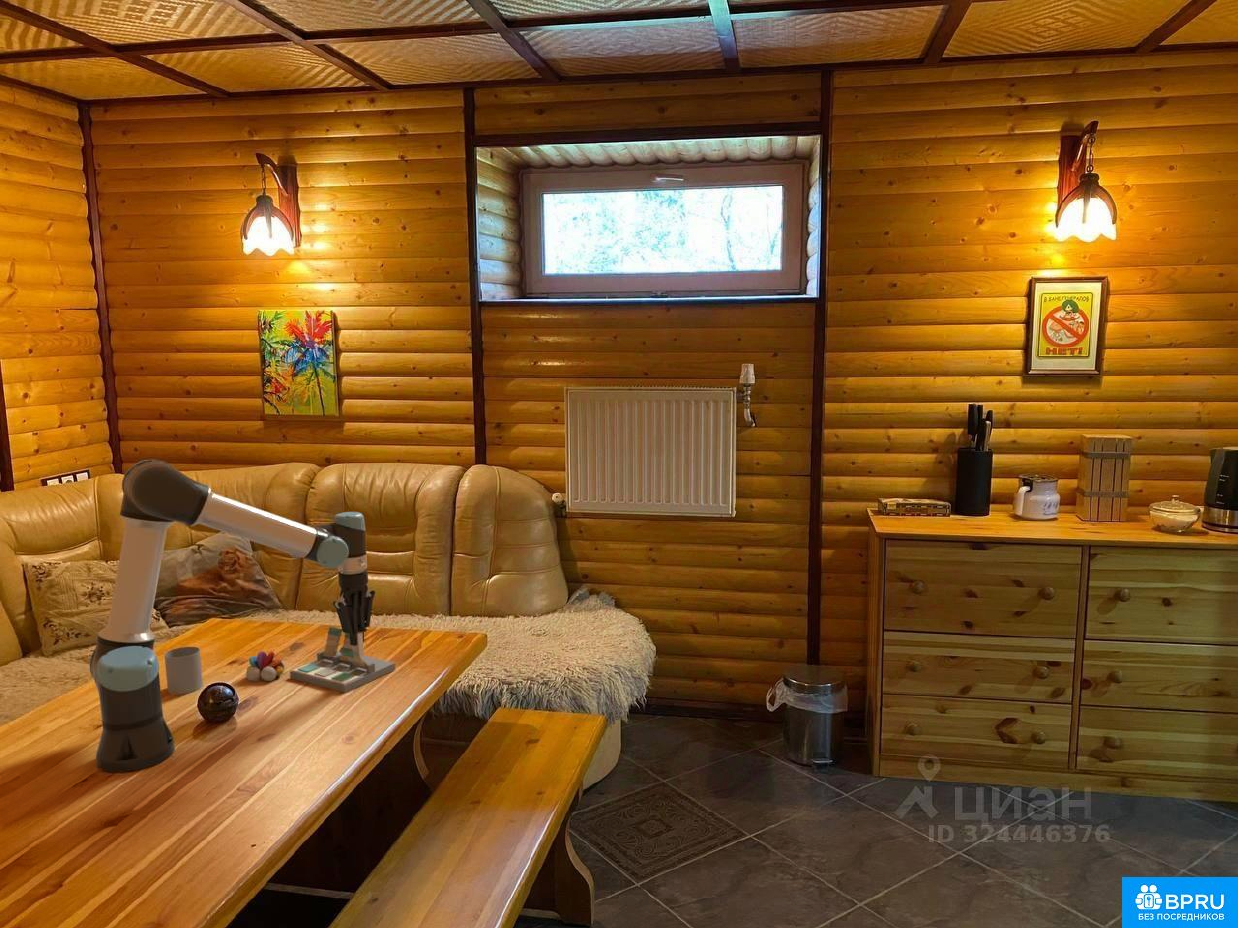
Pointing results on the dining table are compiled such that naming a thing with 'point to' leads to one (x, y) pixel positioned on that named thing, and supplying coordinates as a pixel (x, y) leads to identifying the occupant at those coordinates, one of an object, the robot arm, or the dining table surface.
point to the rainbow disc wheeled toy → (264, 667)
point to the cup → (183, 670)
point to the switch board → (341, 672)
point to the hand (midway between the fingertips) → (358, 655)
